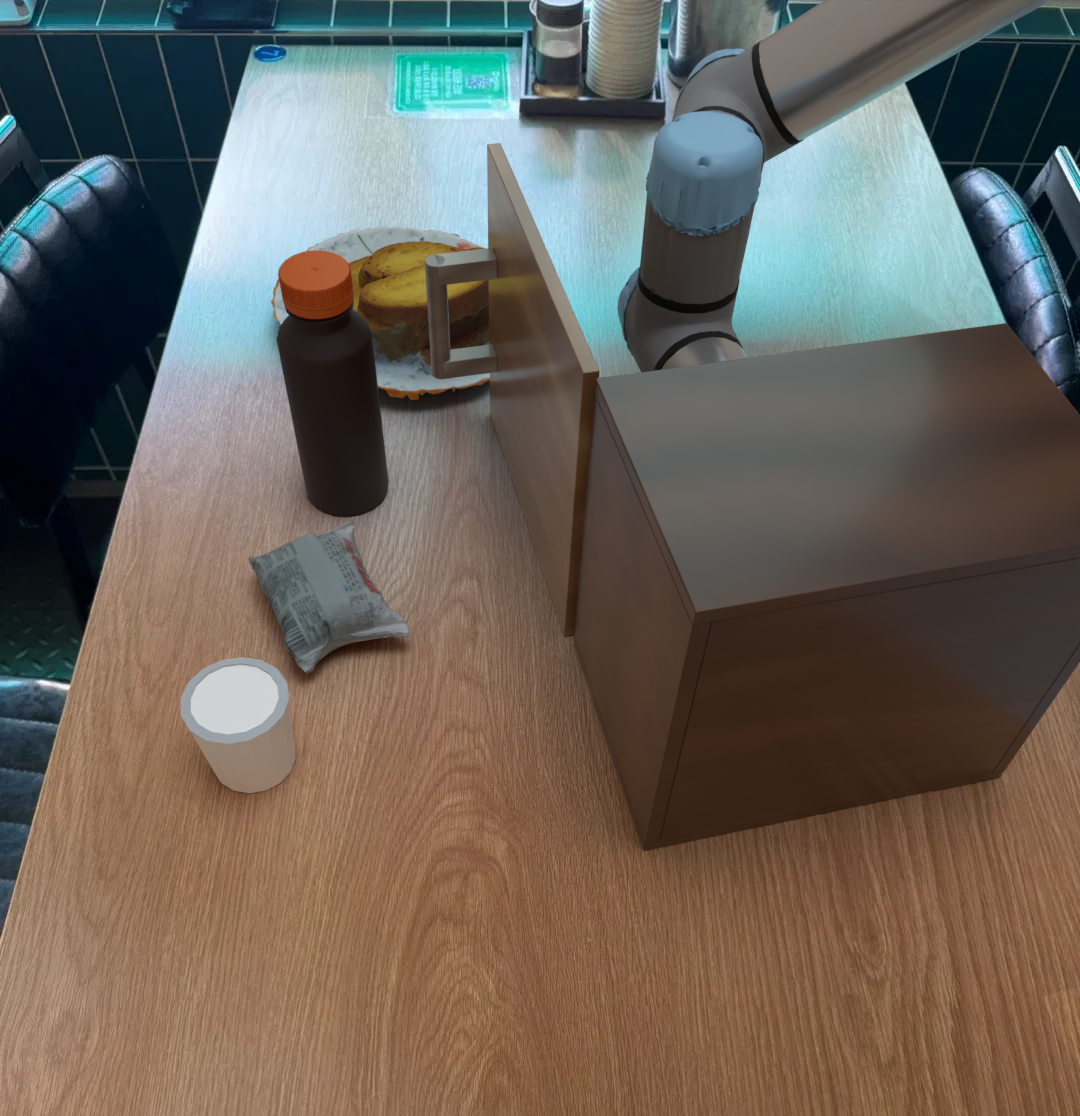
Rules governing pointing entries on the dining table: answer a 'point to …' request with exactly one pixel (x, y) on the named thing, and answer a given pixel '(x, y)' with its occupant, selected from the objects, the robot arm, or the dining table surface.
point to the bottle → (331, 385)
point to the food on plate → (407, 304)
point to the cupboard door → (526, 375)
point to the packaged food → (324, 595)
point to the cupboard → (826, 576)
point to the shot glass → (241, 722)
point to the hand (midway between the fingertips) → (840, 655)
